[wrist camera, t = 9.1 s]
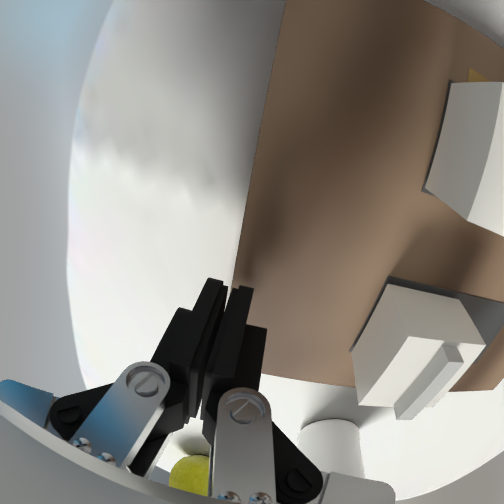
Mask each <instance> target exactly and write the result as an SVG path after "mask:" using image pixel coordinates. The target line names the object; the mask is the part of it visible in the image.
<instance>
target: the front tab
mask: <svg viewBox="0 0 504 504" xmlns="http://www.w3.org/2000/svg"><path fill="white" fill-rule="evenodd" d="M425 188H426V189H427V190H428V191H430V192H431V193H432V194H434V195H435V196H436V197H438V198H439V199H440V200H442V201H443V202H444V203H446V204H447V205H448V206H449V207H451V208H452V209H453V210H454V211H456V212H457V213H458V214H459V215H461V216H462V217H463V218H464V219H465V220H467V221H469V222H471V223H474V224H476V225H478V226H481V227H483V228H485V229H488V230H490V231H492V232H495V233H497V234H499V235H501V236H503V237H504V83H503V82H464V83H451V88H450V93H449V98H448V103H447V108H446V113H445V117H444V122H443V126H442V130H441V134H440V138H439V142H438V146H437V149H436V153H435V157H434V160H433V163H432V167H431V170H430V173H429V177H428V180H427V183H426V186H425Z"/></svg>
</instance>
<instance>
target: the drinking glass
mask: <svg viewBox="0 0 504 504" xmlns="http://www.w3.org/2000/svg"><path fill="white" fill-rule="evenodd" d="M297 448H298V449H299V450H300V451H301V452H302V453H303V454H304V455H305V456H306V457H307V458H308V459H309V460H310V461H311V462H312V463H313V464H314V465H315V466H316V467H317V468H318V469H319V470H320V471H323V472H327V473H330V472H331V471H332V472H336V473H340V474H344V475H349V476H354V477H358V478H363V479H365V473H364V466H363V460H362V453H361V445H360V433H359V429H358V427H357V426H356V425H355V424H354V423H352V422H349V421H346V420H340V419H328V420H322V421H317V422H314V423H311V424H309V425H307V426H305V427H304V428H303V429H302V430H301V431H300V432H299V435H298V439H297Z"/></svg>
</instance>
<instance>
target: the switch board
mask: <svg viewBox="0 0 504 504" xmlns="http://www.w3.org/2000/svg"><path fill="white" fill-rule="evenodd" d="M464 82H503V83H504V49H503V48H501V47H500V46H499V45H497V44H496V43H495V42H493V41H492V40H490V39H489V38H487V37H486V36H485V35H483V34H482V33H480V32H479V31H477V30H475V29H474V28H472V27H471V26H469V25H467V24H466V23H464V22H463V21H461V20H459V19H457V18H456V17H454V16H452V15H450V14H449V13H447V12H445V11H443V10H441V9H439V8H437V7H435V6H433V5H431V4H429V3H427V2H425V1H423V0H286V4H285V9H284V13H283V18H282V23H281V28H280V32H279V37H278V42H277V47H276V52H275V57H274V61H273V66H272V71H271V76H270V81H269V86H268V91H267V96H266V101H265V107H264V112H263V117H262V122H261V127H260V132H259V137H258V143H257V148H256V153H255V159H254V164H253V169H252V175H251V180H250V185H249V191H248V196H247V202H246V207H245V213H244V218H243V224H242V229H241V235H240V240H239V246H238V252H237V257H236V263H235V269H234V275H233V280H232V286H231V291H232V288H237V289H238V288H239V285H242V286H247V287H251V288H254V292H253V296H252V301H251V305H250V309H249V314H248V318H247V323H246V324H249V325H253V326H258V327H262V328H267V336H266V343H265V350H264V357H263V364H262V370H261V373H263V374H268V375H273V376H279V377H284V378H290V379H296V380H302V381H309V382H316V383H323V384H330V385H338V386H347V387H356V383H355V376H354V368H353V361H352V354H351V352H352V350H353V349H354V347H355V345H356V344H357V342H358V340H359V338H360V336H361V335H362V333H363V331H364V329H365V327H366V326H367V324H368V322H369V320H370V318H371V316H372V314H373V312H374V310H375V308H376V306H377V304H378V302H379V301H380V298H381V296H382V294H383V292H384V290H385V288H386V286H387V284H392V285H396V286H401V287H405V288H410V289H414V290H419V291H423V292H428V293H432V294H437V295H441V296H446V297H450V298H455V299H459V300H460V302H461V303H462V305H463V306H464V308H465V310H466V311H467V313H468V315H469V316H470V318H471V320H472V321H473V323H474V325H475V326H476V328H477V330H478V331H479V333H480V335H481V337H482V339H483V340H484V342H485V344H486V346H485V348H484V349H483V350H482V352H481V353H480V354H479V355H478V357H477V358H476V359H475V361H474V362H473V363H472V364H471V366H470V367H469V368H468V369H467V370H466V372H465V373H464V374H463V375H462V376H461V377H460V379H459V380H458V381H457V382H456V383H455V384H454V385H453V387H452V388H451V389H450V390H449V391H448V392H458V391H482V390H493V389H494V388H495V387H496V386H497V385H498V384H499V383H500V381H501V380H502V379H503V378H504V237H503V236H501V235H499V234H497V233H495V232H492V231H490V230H488V229H485V228H483V227H481V226H478V225H476V224H474V223H471V222H469V221H467V220H465V219H464V218H463V217H462V216H461V215H459V214H458V213H457V212H456V211H454V210H453V209H452V208H451V207H449V206H448V205H447V204H446V203H444V202H443V201H442V200H440V199H439V198H438V197H436V196H435V195H434V194H432V193H431V192H430V191H428V190H427V189H426V188H425V186H426V183H427V180H428V177H429V173H430V170H431V167H432V163H433V160H434V157H435V153H436V149H437V146H438V142H439V138H440V134H441V130H442V126H443V122H444V117H445V113H446V108H447V103H448V98H449V93H450V88H451V83H464ZM230 294H231V292H230Z"/></svg>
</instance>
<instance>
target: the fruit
mask: <svg viewBox="0 0 504 504" xmlns="http://www.w3.org/2000/svg"><path fill="white" fill-rule="evenodd" d="M209 459H210V457H206V456H202V455H193V456H189V457H184V458H182V459H181V460H179V461H178V462H177V463H176V464H175V465H174V467H173V468H172V470H171V473H170V478H169V486H170V487H173V488H177V489H180V490H184V491H187V492H191V493H195V494H199V495H203V496H207V490H208V474H209Z"/></svg>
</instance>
